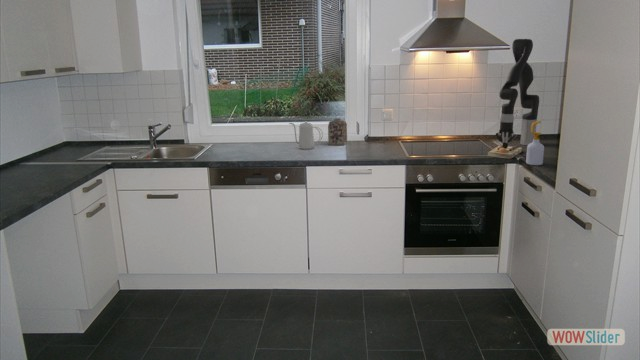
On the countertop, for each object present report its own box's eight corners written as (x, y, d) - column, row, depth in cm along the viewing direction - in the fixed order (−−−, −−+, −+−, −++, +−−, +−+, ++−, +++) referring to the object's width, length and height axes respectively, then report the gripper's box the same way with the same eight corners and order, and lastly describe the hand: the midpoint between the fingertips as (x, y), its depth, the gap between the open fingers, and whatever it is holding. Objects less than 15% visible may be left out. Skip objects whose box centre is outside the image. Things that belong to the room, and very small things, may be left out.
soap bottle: (544, 165, 295) (548, 122, 289) (527, 165, 297) (530, 122, 291) (541, 161, 304) (544, 120, 297) (524, 161, 306) (527, 119, 299)
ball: (496, 149, 320) (497, 156, 322) (505, 150, 317) (505, 157, 319) (499, 146, 323) (499, 153, 326) (507, 146, 320) (507, 153, 323)
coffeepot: (292, 145, 370) (291, 119, 365) (325, 147, 361) (325, 120, 356) (286, 148, 360) (285, 121, 355) (319, 150, 351) (319, 122, 346)
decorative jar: (347, 142, 376) (347, 117, 372) (344, 145, 365) (344, 120, 361) (331, 142, 379) (330, 117, 374) (327, 145, 368) (327, 119, 363)
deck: (499, 149, 340) (500, 143, 339) (522, 151, 332) (522, 145, 331) (487, 156, 322) (488, 150, 321) (510, 158, 314) (511, 152, 313)
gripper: (519, 120, 320) (517, 148, 324) (498, 119, 327) (496, 146, 332) (516, 122, 314) (514, 150, 319) (494, 121, 322) (492, 148, 326)
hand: (505, 148), depth 325 cm, fingers closed
